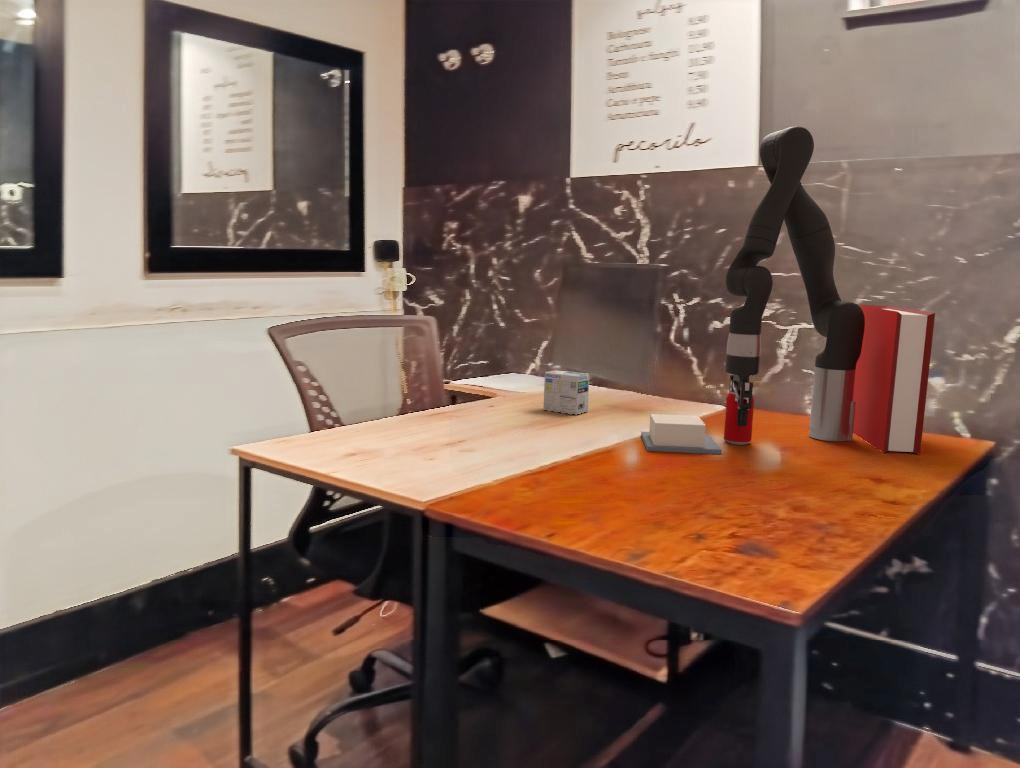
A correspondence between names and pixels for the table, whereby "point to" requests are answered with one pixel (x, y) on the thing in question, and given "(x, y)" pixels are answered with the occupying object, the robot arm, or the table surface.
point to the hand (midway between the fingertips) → (737, 422)
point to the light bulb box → (566, 392)
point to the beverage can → (732, 430)
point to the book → (893, 377)
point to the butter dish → (678, 435)
